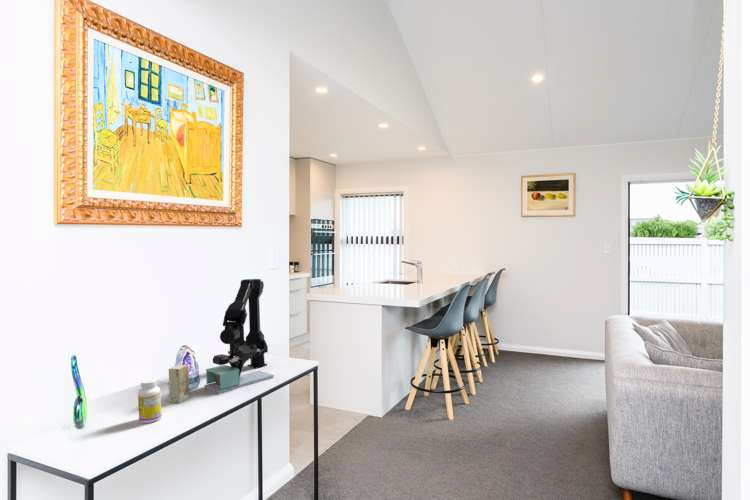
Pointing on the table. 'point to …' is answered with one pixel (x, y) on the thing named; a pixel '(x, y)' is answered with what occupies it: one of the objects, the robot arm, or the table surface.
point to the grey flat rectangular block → (242, 381)
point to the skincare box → (178, 383)
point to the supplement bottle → (149, 401)
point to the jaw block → (217, 379)
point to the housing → (223, 376)
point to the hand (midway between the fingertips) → (238, 377)
